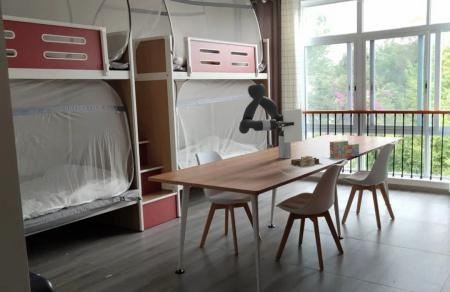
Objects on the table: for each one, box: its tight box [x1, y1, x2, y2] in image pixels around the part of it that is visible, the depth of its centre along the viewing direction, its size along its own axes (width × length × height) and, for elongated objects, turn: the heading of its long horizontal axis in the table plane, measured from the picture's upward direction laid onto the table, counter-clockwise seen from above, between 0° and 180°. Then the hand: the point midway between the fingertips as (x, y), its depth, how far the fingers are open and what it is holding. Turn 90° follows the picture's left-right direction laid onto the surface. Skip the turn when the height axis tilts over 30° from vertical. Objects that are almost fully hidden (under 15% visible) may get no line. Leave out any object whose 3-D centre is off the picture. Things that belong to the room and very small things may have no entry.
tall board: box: [282, 108, 303, 143], centre depth 297 cm, size 12×3×22 cm, turn 99°
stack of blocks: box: [329, 139, 360, 159], centre depth 330 cm, size 21×6×12 cm, turn 106°
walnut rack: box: [290, 157, 324, 168], centre depth 299 cm, size 20×12×4 cm, turn 99°
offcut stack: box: [300, 155, 316, 167], centre depth 295 cm, size 9×5×6 cm, turn 99°
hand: (293, 123), depth 297 cm, fingers closed on tall board, 3 cm apart
